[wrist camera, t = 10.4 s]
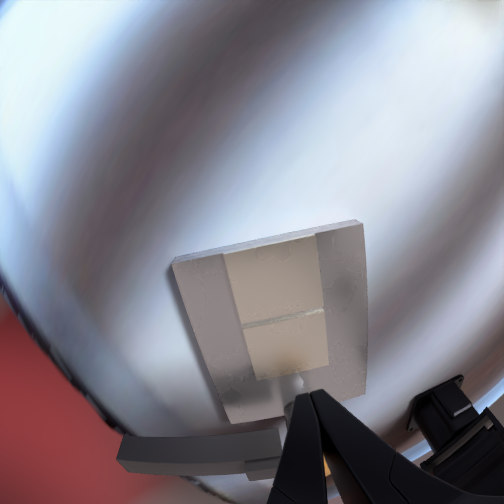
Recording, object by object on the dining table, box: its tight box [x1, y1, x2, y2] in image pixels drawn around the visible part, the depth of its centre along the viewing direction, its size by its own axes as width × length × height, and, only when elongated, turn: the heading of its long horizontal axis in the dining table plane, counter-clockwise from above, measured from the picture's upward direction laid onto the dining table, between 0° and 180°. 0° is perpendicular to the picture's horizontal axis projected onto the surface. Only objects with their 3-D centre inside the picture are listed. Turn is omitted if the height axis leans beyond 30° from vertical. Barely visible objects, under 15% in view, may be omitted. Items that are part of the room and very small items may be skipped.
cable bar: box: [116, 428, 331, 481], centre depth 16 cm, size 15×3×4 cm, turn 100°
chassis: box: [171, 219, 368, 430], centre depth 16 cm, size 15×11×6 cm
